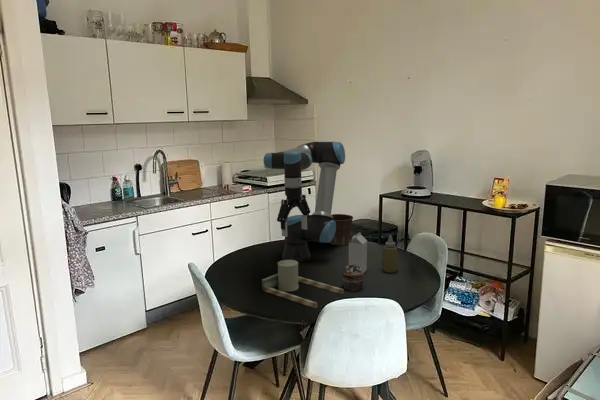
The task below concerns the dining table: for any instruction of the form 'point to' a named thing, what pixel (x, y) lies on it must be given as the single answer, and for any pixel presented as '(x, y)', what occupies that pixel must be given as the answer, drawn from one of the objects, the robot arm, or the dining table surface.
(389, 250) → the squeeze bottle
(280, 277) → the can
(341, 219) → the plant pot
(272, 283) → the guide track
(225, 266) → the dining table surface
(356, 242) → the milk carton
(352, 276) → the cupcake
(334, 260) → the dining table surface
